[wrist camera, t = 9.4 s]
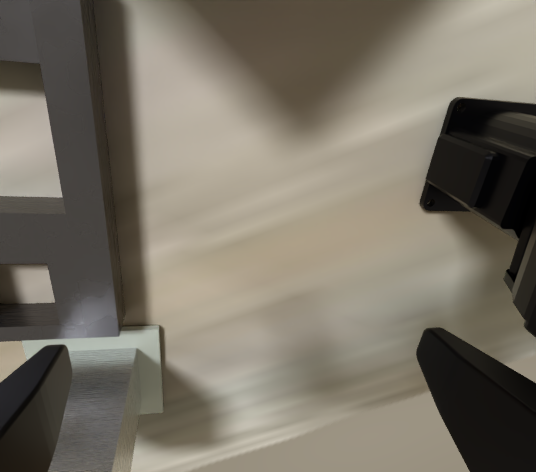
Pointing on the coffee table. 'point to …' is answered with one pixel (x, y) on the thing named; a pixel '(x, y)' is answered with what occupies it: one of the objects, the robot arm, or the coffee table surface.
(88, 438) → the brushed metal block
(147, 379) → the mat
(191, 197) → the coffee table surface
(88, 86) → the slotted plate
